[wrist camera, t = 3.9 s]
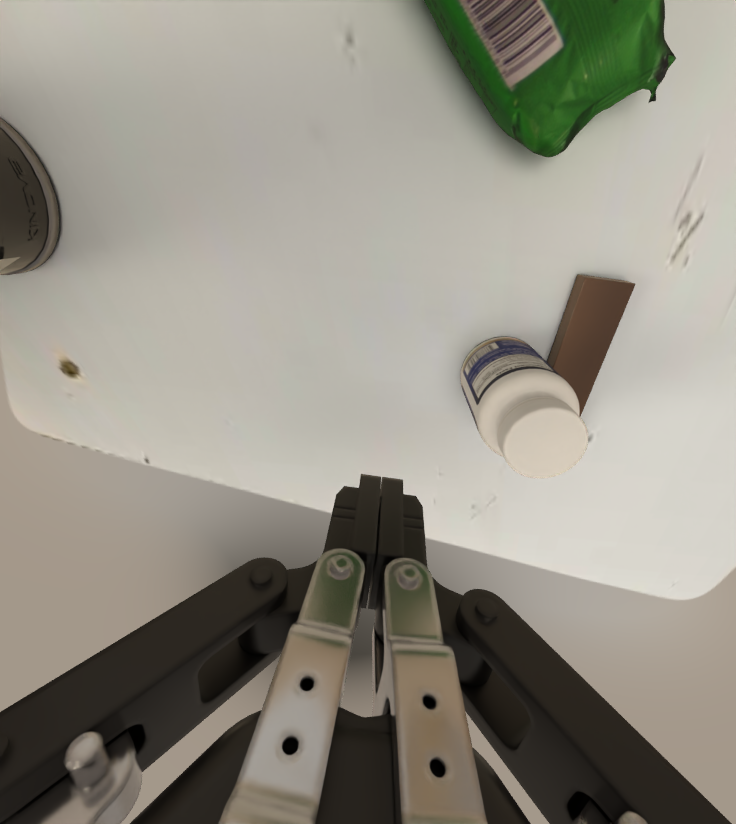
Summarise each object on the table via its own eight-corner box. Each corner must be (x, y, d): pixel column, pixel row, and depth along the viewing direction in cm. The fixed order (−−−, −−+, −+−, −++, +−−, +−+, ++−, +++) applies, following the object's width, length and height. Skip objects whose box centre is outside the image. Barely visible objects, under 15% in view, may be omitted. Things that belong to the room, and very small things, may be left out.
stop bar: (520, 439, 30) (524, 447, 29) (577, 274, 25) (585, 277, 23) (559, 444, 30) (565, 453, 29) (625, 280, 25) (635, 283, 23)
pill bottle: (533, 405, 29) (593, 490, 20) (458, 408, 29) (484, 492, 21) (543, 332, 26) (616, 392, 18) (460, 336, 27) (492, 397, 18)
